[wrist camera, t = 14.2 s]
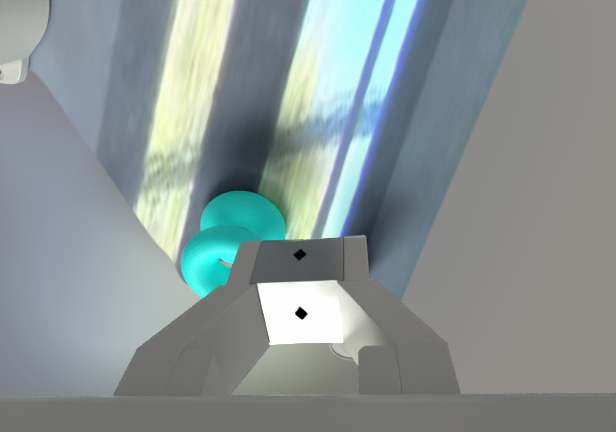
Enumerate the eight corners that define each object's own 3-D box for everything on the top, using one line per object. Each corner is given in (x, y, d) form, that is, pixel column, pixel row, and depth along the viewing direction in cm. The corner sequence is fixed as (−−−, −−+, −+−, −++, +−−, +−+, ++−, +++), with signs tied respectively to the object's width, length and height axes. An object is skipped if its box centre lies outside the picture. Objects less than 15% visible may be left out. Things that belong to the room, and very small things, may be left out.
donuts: (156, 267, 42) (227, 219, 38) (187, 214, 50) (248, 170, 46) (225, 326, 45) (296, 287, 42) (243, 267, 54) (303, 230, 50)
